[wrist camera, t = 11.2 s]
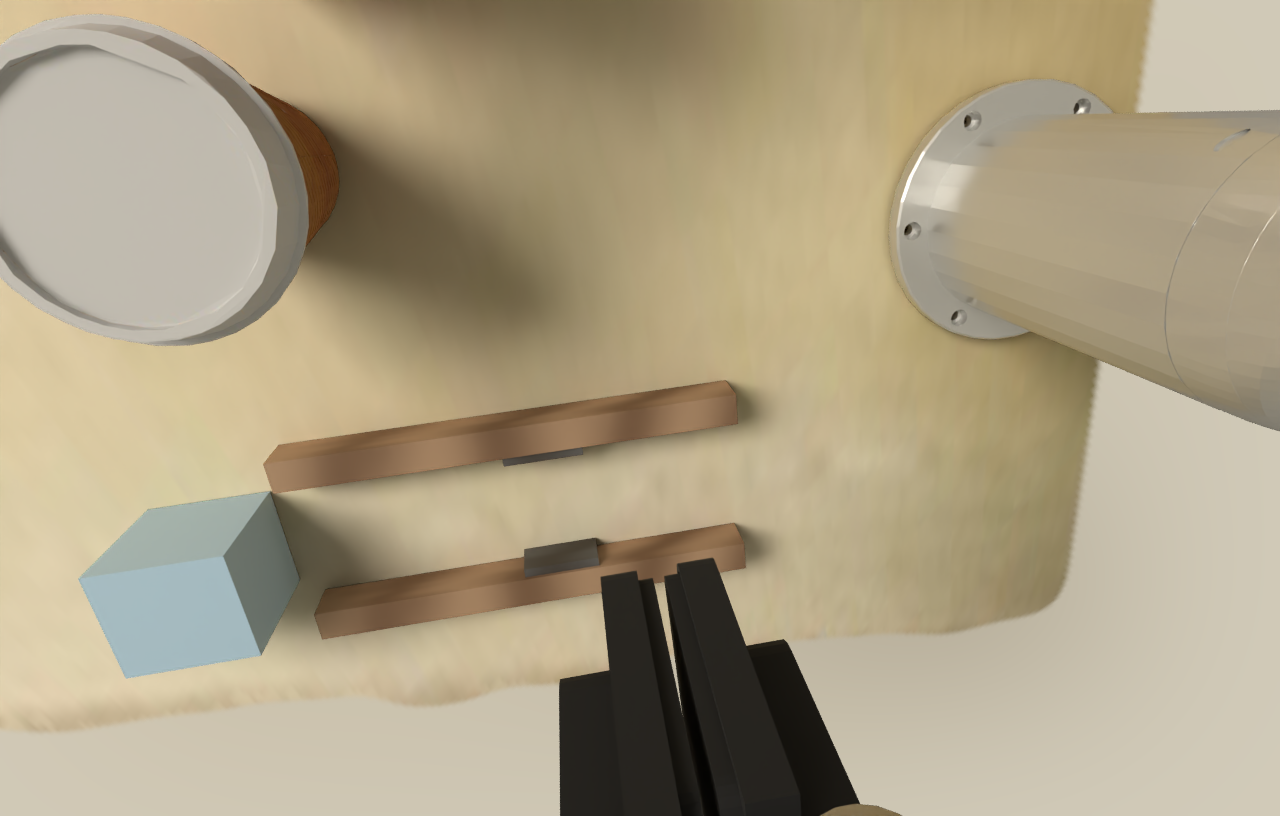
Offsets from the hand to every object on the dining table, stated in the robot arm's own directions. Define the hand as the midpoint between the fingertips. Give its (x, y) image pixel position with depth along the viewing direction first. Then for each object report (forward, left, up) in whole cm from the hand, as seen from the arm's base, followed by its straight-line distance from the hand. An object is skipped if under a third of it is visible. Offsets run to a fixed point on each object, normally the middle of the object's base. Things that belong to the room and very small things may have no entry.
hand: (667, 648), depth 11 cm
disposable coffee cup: (+13, -7, -27) cm, 30 cm away
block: (+20, +11, -27) cm, 35 cm away
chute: (+4, +11, -27) cm, 29 cm away
